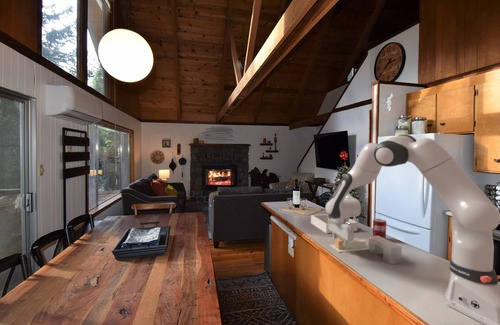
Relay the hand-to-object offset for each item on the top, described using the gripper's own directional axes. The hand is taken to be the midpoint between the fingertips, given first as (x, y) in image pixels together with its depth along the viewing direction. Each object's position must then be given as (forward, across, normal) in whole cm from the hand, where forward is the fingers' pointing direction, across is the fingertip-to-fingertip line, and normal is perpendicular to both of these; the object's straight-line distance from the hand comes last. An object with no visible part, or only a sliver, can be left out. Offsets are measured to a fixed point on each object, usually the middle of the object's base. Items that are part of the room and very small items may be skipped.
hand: (340, 242), depth 138 cm
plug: (+3, 0, -6) cm, 7 cm away
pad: (+3, 0, -6) cm, 7 cm away
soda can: (+3, +8, -32) cm, 33 cm away
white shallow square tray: (+3, +36, -16) cm, 40 cm away
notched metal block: (+3, -14, -16) cm, 22 cm away
